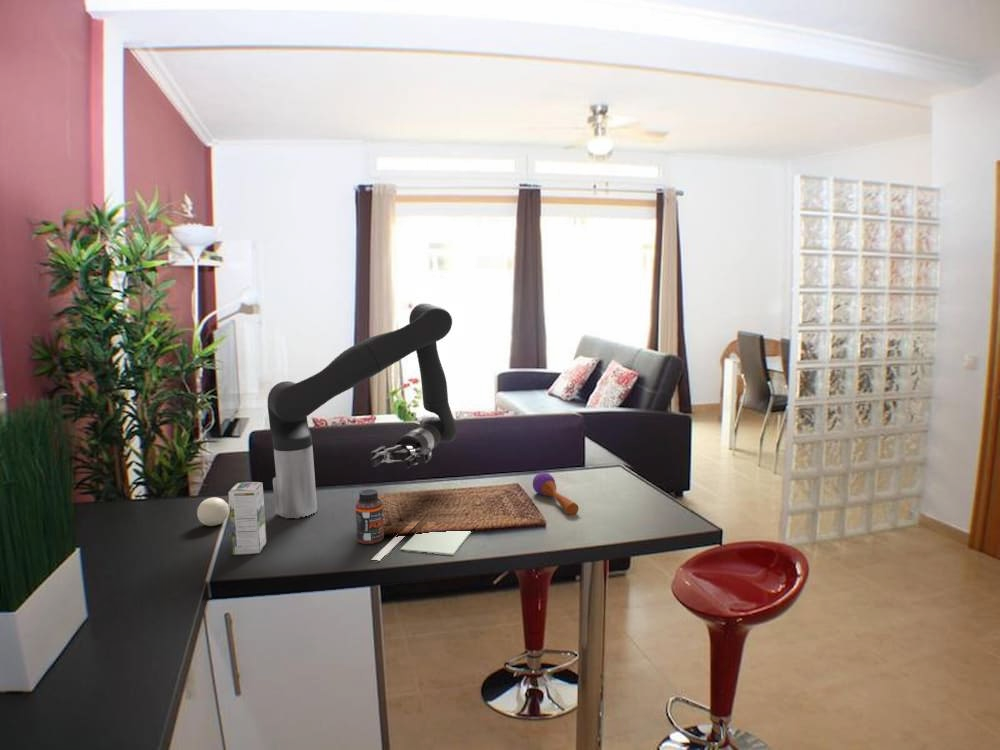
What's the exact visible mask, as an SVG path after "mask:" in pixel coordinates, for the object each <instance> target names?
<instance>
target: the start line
mask: <svg viewBox="0 0 1000 750" xmlns="http://www.w3.org/2000/svg"><path fill="white" fill-rule="evenodd" d="M396 536H397V535H395V536H394V537H393V538H392V539H391V540H390V541H389V542H388V543H387V544H386V545H385V546H384V547H383V548H382V549H380V550H379V551H378V553H376V554H375V555H374V556H373V557H372V558H371V560H378V561H380V560H381V559H382V558H383V557H384V556H385V555H386V556H387V555H389V554H390V552H392V551H393V550H394V549H395V548H396V547H397V546H398V545H399V544H400V543H401V542H402V541H403V540H404V539H405V538H406V537H405V536H398V537H396ZM404 537H405V538H404ZM403 538H404V539H403ZM402 539H403V540H402ZM401 540H402V541H401ZM400 541H401V542H400ZM399 542H400V543H399ZM398 543H399V544H398ZM397 544H398V545H397ZM396 545H397V546H396ZM395 546H396V547H395ZM394 547H395V548H394ZM393 548H394V549H393ZM392 549H393V550H392ZM386 556H385V557H386ZM385 557H384V558H385ZM384 558H383V559H384ZM383 559H382V560H383ZM382 560H381V561H382ZM378 561H377V562H378ZM381 561H380V562H381Z"/></svg>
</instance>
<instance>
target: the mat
mask: <svg viewBox="0 0 1000 750" xmlns="http://www.w3.org/2000/svg"><path fill="white" fill-rule="evenodd" d="M471 534H472V532H471V531H446V532H429V533H422V534H416V533H415V534H414V535H413V536H412V537H410V538H409V540H408V541H407V542H406V543H405V544H404V545H402V546H401V548H400V551H401V550H411V551H418V552H417V553H421V552H427V553H426V554H432V553H434V554H435V555H444V554H445V556H454V555H455V554H456V553H457V552H458V550H459V549H460V548H461V547H462V545H463V544H464V543H465V541H466V540H467V538H469V536H470V535H471Z"/></svg>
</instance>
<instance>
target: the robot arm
mask: <svg viewBox="0 0 1000 750" xmlns="http://www.w3.org/2000/svg"><path fill="white" fill-rule="evenodd" d="M409 313H410V314H409V320H408V321H409V323H407V324H406V325H405V326H403V327H401V328H398V329H395V330H393V331H387V332H384V333H381V334H377V335H373V336H370V337H369V338H366V339H363V340H361V341H359V342H358V343H356V344H354V345H352V346H350V347H349V348H347V349H346V350H344V351H343V352H341V353H340V354H338V355H337V356H336V357H335V358H334V359H332V361H330V363H329V364H328V365H327V366H326V367H324V368H323V369H322V370H320V371H319V372H317V373H315V374H313V375H312V376H310V377H307V378H305V379H303V380H301V381H299V382H295V381H294V382H293V381H287V380H285V381H281V382H278V383H276V384H275V385H274V386H273V387H272V388H271V389H270V391H269V393H268V396H267V412H268V421H269V422H268V423H269V432H270V436H271V439H272V445H273V446H272V447H273V457H274V468H275V477H273V478H272V489H273V490H272V491H273V500H274V502H273V503H274V511H275V515H276V514H278V515H277V516H279V515H280V516H282V517H286V518H285V519H287V518H295V519H301V518H300V517H303V518H306V517H305V516H307V517H310V516H311V514H312V515H314V514H316V512H318V505H317V504H318V502H317V491H316V490H317V489H316V477H315V464H314V462H315V461H314V451H313V450H314V449H313V439H312V438H313V437H312V433H311V431H310V427H309V423H308V416H309V415H311V414H313V413H314V412H315V411H317V410H318V409H319V408H321V407H322V406H323V405H325V404H326V403H327V402H329V401H331V400H332V399H334V398H335V397H336V396H339V395H341V394H343V393H345V392H346V391H349V390H350V389H352V388H354V387H356V386H357V385H360V384H362V383H363V382H365V381H367V380H369V379H370V378H372V377H374V376H375V375H377V374H379V373H381V372H383V371H384V370H385V369H387V368H388V367H390V366H392V365H394V364H395V363H397V362H399V361H400V360H403V359H404V358H405V357H407V356H409V355H411V354H412V353H414V352H416V357H417V361H418V366H419V373H420V382H421V391H422V394H421V395H422V403H423V404H422V405H423V408H424V410H426V411H427V412H430V413H432V414H435V415H437V416H427V417H424V418H422V419H421V421H420V423H419V425H418V427H417V428H416V429H413V430H410V431H409V432H407V433H406V434H404V435H403V436H401V437H400V438H399V439H398V440H397V442H396V443H395V445H394V446H392V447H388V448H386V446H385V445H381V446H380V447H378V448H376V449H374V450H372V451H371V452H370V455H371V456H370V457H371V458H370V465H371V467H372V468H376V467H378V466H379V465H381V464H382V463H387V464H390V463H394V462H403V463H404V469H409V468H411V467H413V466H416V465H418V464H419V463H420V464H421V465H425V464H427V463H428V462H429V461H431V459H432V458H433V455H432V450H433V449H435V448H436V447H437V446H438V445H439V443H451V442H453V441H454V440H455V439H456V436H457V431H458V430H457V423H456V421H455V418H454V416H453V413H452V411H451V407H450V403H449V398H448V397H449V396H448V395H449V394H448V384H447V378H446V374H445V372H444V368H443V365H442V362H441V359H440V356H439V352H438V346H437V342H438V341H440V340H443V339H444V338H445V337H446V336H447V335H448V334H449V333H450V331H451V329H452V326H453V319H452V315H451V314H450V313H449V312H448V311H447V310H446V309H445V308H442V307H441V306H437V305H434V304H431V303H419V304H418V305H417V304H416V306H414V307H413V309H412V310H411V312H409ZM313 513H314V514H313ZM309 515H310V516H309ZM280 516H279V517H280ZM282 517H281V518H282Z"/></svg>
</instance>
